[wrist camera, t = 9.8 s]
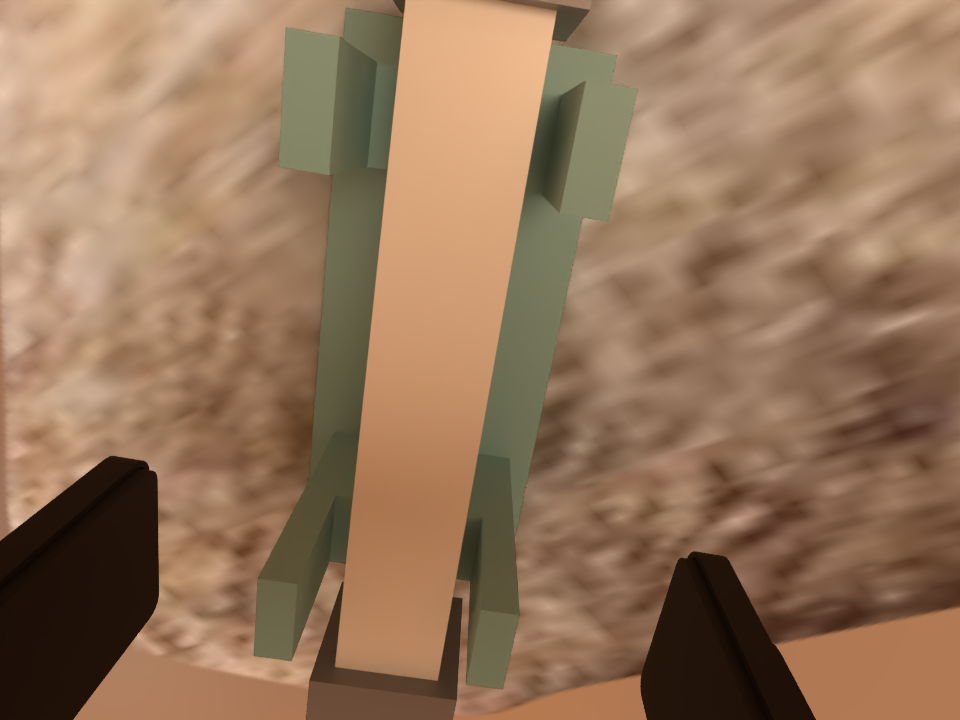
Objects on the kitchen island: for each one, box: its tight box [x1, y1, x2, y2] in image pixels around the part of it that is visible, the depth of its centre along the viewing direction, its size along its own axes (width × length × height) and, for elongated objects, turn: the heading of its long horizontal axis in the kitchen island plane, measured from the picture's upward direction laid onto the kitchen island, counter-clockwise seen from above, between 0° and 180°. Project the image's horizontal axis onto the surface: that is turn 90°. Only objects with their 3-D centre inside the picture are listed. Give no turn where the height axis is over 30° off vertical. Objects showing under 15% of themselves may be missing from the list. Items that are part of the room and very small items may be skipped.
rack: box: [254, 8, 638, 690], centre depth 22 cm, size 10×22×11 cm, turn 171°
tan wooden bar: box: [306, 0, 592, 720], centre depth 20 cm, size 5×25×5 cm, turn 171°
